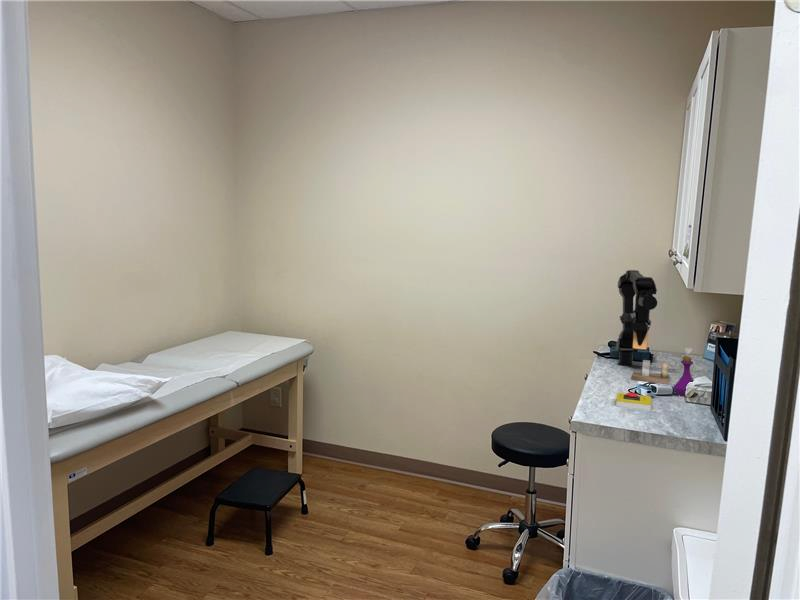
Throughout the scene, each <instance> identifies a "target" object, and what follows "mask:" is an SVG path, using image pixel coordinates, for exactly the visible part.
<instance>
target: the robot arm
mask: <svg viewBox="0 0 800 600" xmlns="http://www.w3.org/2000/svg"><path fill="white" fill-rule="evenodd" d="M617 289H618V293H619V294H620V296H621V297H622V315H620V316H619V320H620V322H621V324H622V330H621V331H620V333H619V335H618V339H617V341H616V343H615V350H616V352H619V356H618V358H619V359H618V362H617V364H616V365H618V366H626V365H628V367H633V366H634V363H635V362H634V361H633V359H634V358H633V357H634V353H638V351H639V349H635V348H633V334H634V332H636V335H637V341H638V345H642V342H643V340H644V338H645V336H646V334H647V332H648V333H649V330H650V329H651V326H652V320H651V319H650V315H651V314H650V313H651V310H654V309H656V307H657V305H658V299H657V298H656V297H655V296H654V295H656V294H657V291H658V289H657V285H656V282H655V280H654V279H653V277H652V276H651V277H650V276H644V275H643V274H641V272H640V271H639V270H638V269H637V270H635V269H634V270H633V269H632V270H631V269H629V270H626V271H625V273H624V274H622V275H621V276H620V277H619V278H618V281H617ZM634 297H635V298H634ZM634 299H635V300H634ZM634 301H635V302H634Z"/></svg>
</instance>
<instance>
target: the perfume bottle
mask: <svg viewBox="0 0 800 600" xmlns="http://www.w3.org/2000/svg"><path fill="white" fill-rule="evenodd" d="M693 350H694V348H692V347H685V348H684V352H685V353H686V354H687V355H686V356H685V355H683V357H682V360H681V361H680V364H682V365H683V373H682V375H681V377H680V378H679V380H678V381H677V382H676V383H675V384H674V385H673V387H672V388H673V390H674V392H675V393H676V394H677V396H678V395H680V396H679V397H682V396H685V391H686V386H687V384H688V383H689V382H693V381H695V379H694V378H693V377H692V375H691V366H692V365H694V361H692V359H693V358H692V357H690V356H689V354H690V353H691V352H693Z"/></svg>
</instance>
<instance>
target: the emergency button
mask: <svg viewBox="0 0 800 600" xmlns="http://www.w3.org/2000/svg"><path fill="white" fill-rule="evenodd" d="M653 404H654V403H652V397H651V396H650V395H642V394H637V393H635V392H627V393H623V392H617V394H616V398H612V399H611V404H610V406H611V407H613V406H616V407H615V408H621V407H623V409H629V408H633V409H632V410H638V409H641V410H640V411H646V410H647V411H648V412H654V411H656V412H657V411H658V412H659V405H658V404H657V405H656V406H657V407H656V406H655V407H654V406H653ZM647 411H646V412H647Z"/></svg>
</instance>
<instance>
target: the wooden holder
mask: <svg viewBox="0 0 800 600" xmlns="http://www.w3.org/2000/svg"><path fill="white" fill-rule="evenodd" d="M669 363H670V362H667V361H662V362H661V367H660V368H661V369H660V373H653V372H651V371H650V368H651V367H650V366H651V360H649V359H648V360H646V359H643V360H642V369H641V370H642V371H636V370H635V371H634V370H633V371H632V375H631V377H630V378H631V379H630V380H631V381H639V382H646V381H648V383H654V382H655V384H665V385H670V379H671V375H670V374H669V367H670V365H669Z"/></svg>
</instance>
